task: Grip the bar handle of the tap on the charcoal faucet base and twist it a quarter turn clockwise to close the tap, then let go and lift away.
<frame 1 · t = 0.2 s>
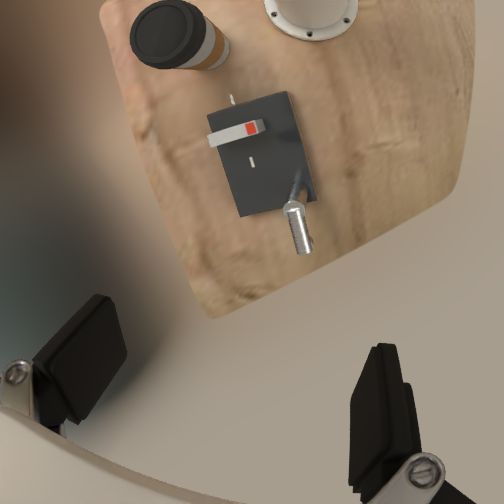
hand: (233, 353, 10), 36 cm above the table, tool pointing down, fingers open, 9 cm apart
tap handle: (237, 132, 36), point 6 cm above the table, hinge at 90.0°
faucet base: (266, 152, 42), on the table
spout: (301, 216, 37), on the faucet base, point 8 cm above the table
coffee cup: (209, 50, 37), on the table
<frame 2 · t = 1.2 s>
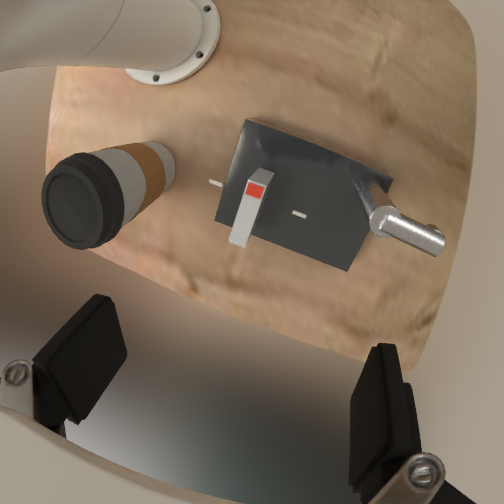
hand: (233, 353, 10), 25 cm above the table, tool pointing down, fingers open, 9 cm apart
tap handle: (252, 206, 28), point 6 cm above the table, hinge at 90.0°
faucet base: (302, 189, 33), on the table
spout: (397, 213, 24), on the faucet base, point 8 cm above the table
coffee cup: (154, 166, 35), on the table
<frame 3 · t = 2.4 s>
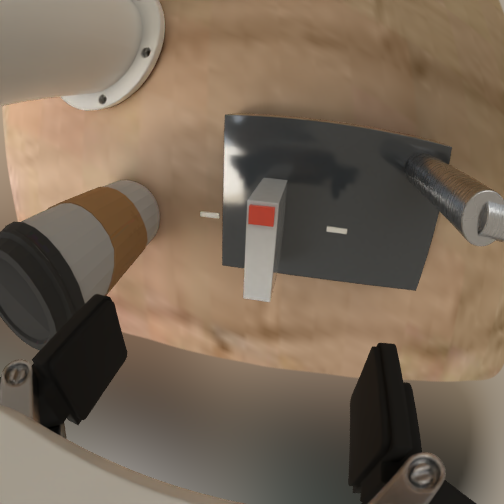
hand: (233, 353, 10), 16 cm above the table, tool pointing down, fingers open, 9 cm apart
tap handle: (266, 237, 19), point 6 cm above the table, hinge at 90.0°
faucet base: (331, 193, 23), on the table
spout: (480, 197, 13), on the faucet base, point 8 cm above the table
coffee cup: (133, 210, 27), on the table
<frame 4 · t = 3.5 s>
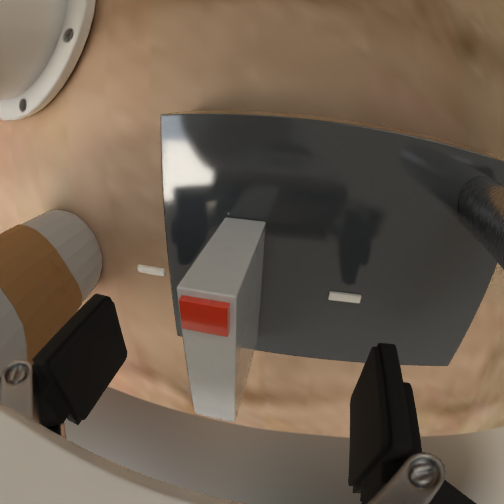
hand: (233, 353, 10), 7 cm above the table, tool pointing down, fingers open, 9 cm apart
tap handle: (228, 322, 11), point 6 cm above the table, hinge at 90.0°
faucet base: (337, 230, 15), on the table
coffee cup: (72, 247, 20), on the table
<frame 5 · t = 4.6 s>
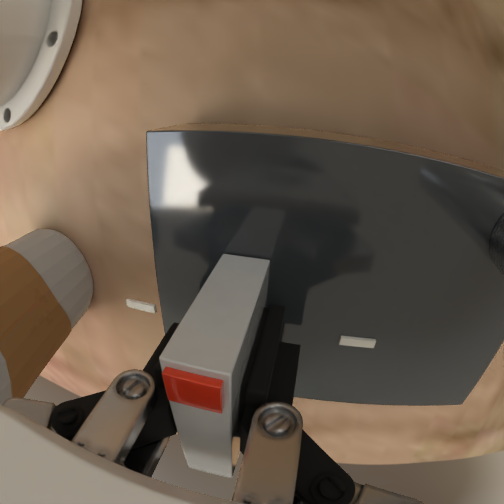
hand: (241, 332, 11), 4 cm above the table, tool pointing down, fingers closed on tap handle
tap handle: (225, 375, 9), point 6 cm above the table, hinge at 89.9°, touching gripper
faucet base: (350, 261, 14), on the table
coffee cup: (62, 268, 18), on the table
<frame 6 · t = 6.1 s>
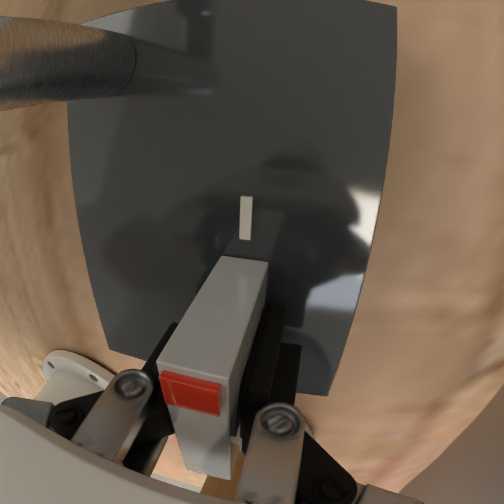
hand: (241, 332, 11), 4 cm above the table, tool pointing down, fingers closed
tap handle: (223, 378, 9), point 6 cm above the table, hinge at 0.0°
faucet base: (229, 194, 13), on the table
coffee cup: (273, 428, 21), on the table
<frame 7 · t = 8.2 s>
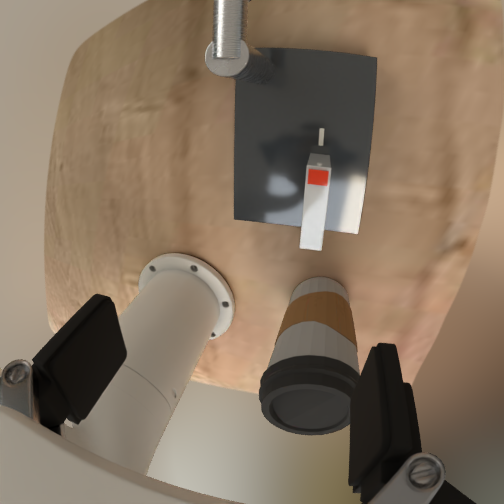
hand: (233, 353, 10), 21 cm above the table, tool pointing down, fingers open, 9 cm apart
tap handle: (315, 199, 23), point 6 cm above the table, hinge at 0.0°
faucet base: (304, 135, 26), on the table
spout: (247, 34, 16), on the faucet base, point 8 cm above the table
coffee cup: (320, 298, 34), on the table
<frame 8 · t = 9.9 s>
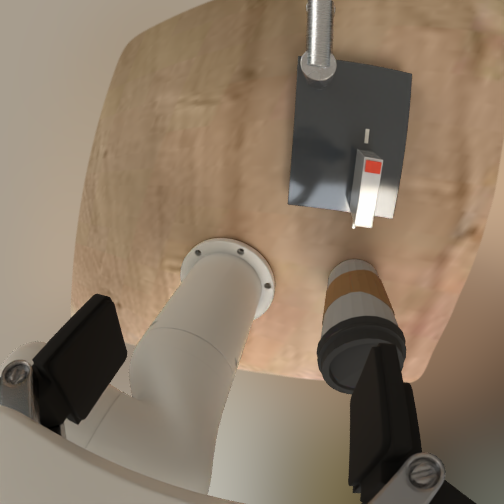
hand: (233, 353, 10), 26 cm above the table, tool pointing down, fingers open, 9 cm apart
tap handle: (364, 186, 26), point 6 cm above the table, hinge at 0.0°
faucet base: (347, 134, 30), on the table
spout: (319, 46, 20), on the faucet base, point 8 cm above the table
coffee cup: (353, 279, 37), on the table
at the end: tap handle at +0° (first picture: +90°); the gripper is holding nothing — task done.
